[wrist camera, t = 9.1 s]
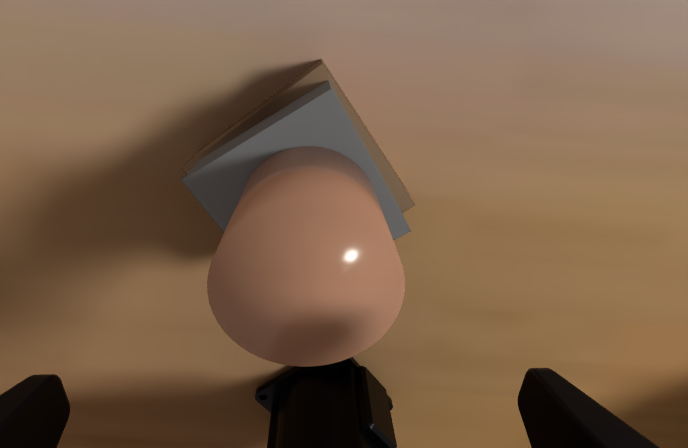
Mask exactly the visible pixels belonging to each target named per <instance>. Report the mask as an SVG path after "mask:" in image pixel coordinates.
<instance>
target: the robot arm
mask: <svg viewBox="0 0 688 448" xmlns="http://www.w3.org/2000/svg"><path fill="white" fill-rule="evenodd" d="M262 394H265V395H262ZM255 399H256V400H257V401H258V402H259V403H260V404H261V405H262V406H263V407H265V408H266V409H267V410H268V411H269V412H270V413H271V417H270V426H269V435H268V443H267V448H396V447H397V444H396V439H395V434H394V429H393V423H392V418H391V413H390V410H391V409H392V408H393V405H392V400H391V398H390V397H389V396H388V395H387V393H386V389H385V388H384V387H383V386H382V385H381V384H380V382H379V381H378V380H377V379H376V378H375V377H374V376H373V375H372V374H371V373H370V372H369V370H368V369H367V368H366V367H364V366H360V365H359V364H358V363H357V362H356V361H355V360H354V358H353V357H351V358H348V359H346V360H343V361H340V362H336V363H332V364H328V365H321V366H308V367H303V366H296V367H294V368H292V369H290V370H289V371H287V372H285V373H283V374H282V375H280V376H278V377H276V378H275V379H273V380H271V381H269V382H268V383H266V384H264V385H262V386H261V387H259V388H258V389H257V390H256V394H255ZM518 407H519V411H520V414H521V417H522V420H523V423H524V426H525V429H526V432H527V435H528V438H529V441H530V444H531V447H532V448H659V447H658V446H657V445H655V444H654V443H652V442H651V441H650V440H648V439H647V438H646V437H644V436H643V435H641V434H640V433H639V432H637V431H636V430H635V429H633V428H632V427H630V426H629V425H628V424H626V423H625V422H623V421H622V420H621V419H619V418H618V417H617V416H615V415H614V414H612V413H611V412H610V411H608V410H607V409H606V408H604V407H603V406H601V405H600V404H599V403H597V402H596V401H595V400H593V399H592V398H590V397H589V396H588V395H586V394H585V393H583V392H582V391H581V390H579V389H578V388H577V387H575V386H574V385H572V384H571V383H570V382H568V381H567V380H566V379H564V378H563V377H561V376H560V375H559V374H557V373H556V372H555V371H553V370H551V369H549V368H530V369H529V370H528V371H527V372H526V374H525V377H524V380H523V383H522V386H521V389H520V392H519V395H518ZM69 414H70V404H69V401H68V398H67V395H66V393H65V390H64V387H63V384H62V381H61V379H60V378H59V377H58V376H57V375H54V374H51V375H32V376H30V377H28V378H26V379H25V380H23V381H22V382H20V383H18V384H17V385H15V386H14V387H12V388H11V389H9V390H8V391H6V392H4V393H3V394H1V395H0V448H56V447H57V445H58V443H59V440H60V438H61V435H62V433H63V430H64V428H65V425H66V423H67V421H68V418H69Z"/></svg>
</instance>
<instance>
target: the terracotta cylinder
mask: <svg viewBox="0 0 688 448" xmlns="http://www.w3.org/2000/svg"><path fill="white" fill-rule="evenodd" d="M207 288H208V297H209V303H210V306H211V309H212V311H213V314H214V316H215V318H216V320H217V321H218V323H219V325H220V326H221V327H222V329H223V330H224V331H225V333H226V334H227V335H228V336H229V337H230V338H231V339H232V340H233V341H235V342H236V343H237V344H238V345H239V346H241V347H242V348H244V349H245V350H247V351H249V352H250V353H252V354H254V355H256V356H258V357H260V358H263V359H266V360H268V361H271V362H275V363H279V364H283V365H290V366H303V367H308V366H321V365H328V364H332V363H336V362H340V361H343V360H346V359H348V358H351V357H353V356H355V355H357V354H359V353H361V352H363V351H364V350H366V349H368V348H369V347H371V346H372V345H373V344H375V343H376V342H377V341H378V340H379V339H380V338H381V337H382V336H383V335H384V334H385V333H386V332H387V331H388V330H389V328H390V327H391V326H392V324H393V323H394V321H395V319H396V318H397V316H398V314H399V311H400V309H401V306H402V303H403V299H404V293H405V276H404V270H403V266H402V263H401V260H400V257H399V254H398V252H397V249H396V246H395V244H394V241H393V238H392V236H391V233H390V230H389V228H388V225H387V222H386V219H385V217H384V214H383V211H382V209H381V206H380V203H379V201H378V198H377V195H376V193H375V190H374V187H373V185H372V183H371V181H370V179H369V178H368V176H367V175H366V173H365V172H364V171H363V170H362V168H361V167H360V166H358V165H357V164H356V163H355V162H354V161H353V160H351V159H350V158H348V157H347V156H345V155H343V154H341V153H339V152H337V151H334V150H332V149H328V148H324V147H317V146H300V147H293V148H289V149H286V150H283V151H281V152H278V153H276V154H274V155H272V156H271V157H269V158H267V159H266V160H265V161H264V162H262V163H261V164H260V165H259V166H258V167H257V168H256V169H255V170H254V171H253V173H252V174H251V176H250V177H249V179H248V181H247V183H246V185H245V187H244V189H243V191H242V194H241V196H240V198H239V200H238V203H237V205H236V207H235V210H234V212H233V214H232V216H231V219H230V221H229V223H228V225H227V228H226V230H225V232H224V234H223V237H222V239H221V241H220V243H219V246H218V248H217V250H216V252H215V255H214V257H213V259H212V262H211V266H210V269H209V274H208V281H207Z"/></svg>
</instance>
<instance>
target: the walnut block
mask: <svg viewBox="0 0 688 448" xmlns="http://www.w3.org/2000/svg"><path fill="white" fill-rule="evenodd" d="M328 80H329V82H330V83H331V85H332V87H333V89H334V91H335V92H336V94H337V96H338V98H339V99H340V101H341V103H342V105H343V107H344V108H345V110H346V112H347V114H348V116H349V117H350V119H351V121H352V123H353V125H354V126H355V128H356V130H357V132H358V133H359V135H360V137H361V139H362V141H363V142H364V144H365V146H366V148H367V150H368V151H369V153H370V155H371V157H372V158H373V160H374V162H375V164H376V166H377V167H378V169H379V171H380V173H381V175H382V176H383V178H384V180H385V182H386V184H387V185H388V187H389V189H390V191H391V192H392V194H393V196H394V198H395V200H396V201H397V203H398V205H399V207H400V209H401V211H402V213H403V212H405V211H406V210H408V209H410V208H411V207H413V206H414V205H415V204H414V202H413V200H412V199H411V197H410V195H409V193H408V191H407V190H406V188H405V186H404V184H403V183H402V181H401V180H400V178H399V177H398V175H397V174H396V172H395V171H394V169H393V168H392V166H391V165H390V163H389V161H388V160H387V158H386V157H385V155H384V154H383V152H382V151H381V149H380V148H379V146H378V145H377V143H376V142H375V140H374V139H373V137H372V135H371V134H370V132H369V131H368V129H367V128H366V126H365V125H364V123H363V122H362V120H361V119H360V117H359V116H358V114H357V113H356V111H355V109H354V108H353V106H352V105H351V103H350V102H349V100H348V99H347V97H346V96H345V94H344V93H343V91H342V90H341V88H340V87H339V85H338V83H337V82H336V80H335V79H334V77H333V76H332V74H331V73H330V71H329V70H328V68H327V67H326V65H325V64H324V62H323V61H322V59H321V60H319V61H318V62H317V63H315V64H314V65H313V66H311V67H310V68H309V69H307V70H306V71H305V72H303V73H302V74H301V75H299V76H298V77H297V78H295V79H294V80H293V81H291V82H290V83H289V84H287V85H286V86H285V87H283V88H282V89H281V90H279V91H278V92H277V93H275V94H274V95H273V96H271V97H270V98H269V99H267V100H266V101H265V102H263V103H262V104H261V105H259V106H258V107H257V108H255V109H254V110H253V111H251V112H250V113H249V114H247V115H246V116H245V117H243V118H242V119H241V120H239V121H238V122H237V123H235V124H234V125H233V126H231V127H230V128H229V129H227V130H226V131H225V132H223V133H222V134H221V135H219V136H218V137H217V138H215V139H214V140H213V141H211V142H210V143H209V144H207V145H206V146H205V147H203V148H202V149H201V150H199V151H198V152H197V153H196V154H195V155H194V156H193V157H192V158H191V159H190V160H189V161H188V162H187V163H186V164H185V165H184V166H183V167H182V168H181V169H182V170H183V171H184V172H185V173H186V174H188V172H189V171H190V170H191V169H192V168H193V167H194V166H195V165H196V163H197V162H198V161H199V160H200V159H201V158H203V157H205V156H206V155H208V154H209V153H211V152H213V151H214V150H216V149H218V148H219V147H221V146H222V145H224V144H226V143H227V142H229V141H231V140H232V139H234V138H235V137H237V136H239V135H240V134H242V133H244V132H245V131H247V130H248V129H250V128H252V127H253V126H255V125H257V124H258V123H260V122H261V121H263V120H265V119H266V118H268V117H269V116H271V115H273V114H274V113H276V112H278V111H279V110H281V109H282V108H284V107H286V106H287V105H289V104H291V103H292V102H294V101H295V100H297V99H299V98H300V97H302V96H304V95H305V94H307V93H308V92H310V91H312V90H313V89H315V88H317V87H318V86H320V85H321V84H323V83H325V82H326V81H328Z"/></svg>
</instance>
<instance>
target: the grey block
mask: <svg viewBox="0 0 688 448" xmlns="http://www.w3.org/2000/svg"><path fill="white" fill-rule="evenodd" d="M300 146H317V147H324V148H328V149H332V150H334V151H337V152H339V153H341V154H343V155H345V156H347V157H348V158H350V159H351V160H353V161H354V162H355V163H356V164H357V165H358V166H360V167H361V168H362V170H363V171H364V172H365V173H366V175H367V176H368V178H369V179H370V181H371V183H372V185H373V187H374V190H375V193H376V195H377V198H378V201H379V203H380V206H381V209H382V211H383V214H384V217H385V219H386V222H387V225H388V228H389V230H390V233H391V236H392V238H393V240H395V239H397V238H399V237H401V236H403V235H404V234H406V233H408V232H410V228H409V226H408V224H407V222H406V220H405V218H404V216H403V213H402V211H401V209H400V207H399V205H398V203H397V201H396V200H395V198H394V196H393V194H392V192H391V191H390V189H389V187H388V185H387V184H386V182H385V180H384V178H383V176H382V175H381V173H380V171H379V169H378V167H377V166H376V164H375V162H374V160H373V158H372V157H371V155H370V153H369V151H368V150H367V148H366V146H365V144H364V142H363V141H362V139H361V137H360V135H359V133H358V132H357V130H356V128H355V126H354V125H353V123H352V121H351V119H350V117H349V116H348V114H347V112H346V110H345V108H344V107H343V105H342V103H341V101H340V99H339V98H338V96H337V94H336V92H335V91H334V89H333V87H332V85H331V83H330V82H329V80H328V81H326V82H325V83H323V84H321V85H320V86H318V87H317V88H315V89H313V90H312V91H310V92H308V93H307V94H305V95H304V96H302V97H300V98H299V99H297V100H295V101H294V102H292V103H291V104H289V105H287V106H286V107H284V108H282V109H281V110H279V111H278V112H276V113H274V114H273V115H271V116H269V117H268V118H266V119H265V120H263V121H261V122H260V123H258V124H257V125H255V126H253V127H252V128H250V129H248V130H247V131H245V132H244V133H242V134H240V135H239V136H237V137H235V138H234V139H232V140H231V141H229V142H227V143H226V144H224V145H222V146H221V147H219V148H218V149H216V150H214V151H213V152H211V153H209V154H208V155H206V156H205V157H203V158H201V159H200V160H199V161H198V162H197V163H196V165H195V166H194V167H193V168H192V169H191V170H190V171H189V172H188V174H187V175H186V176H185V177H184V178H183V179H182V180H181V181H182V182H183V183H184V184H185V185H186V187H187V188H188V189H189V190H190V192H191V193H192V194H193V195H194V197H195V198H196V199H197V200H198V201H199V203H200V204H201V205H202V206H203V208H204V209H205V210H206V211H207V212H208V214H209V215H210V216H211V217H212V219H213V220H214V221H215V222H216V223H217V225H218V226H219V227H220V228H221V230H222V231H223V232H225V230H226V228H227V225H228V223H229V221H230V219H231V216H232V214H233V212H234V210H235V207H236V205H237V203H238V200H239V198H240V196H241V194H242V191H243V189H244V187H245V185H246V183H247V181H248V179H249V177H250V176H251V174H252V173H253V171H254V170H255V169H256V168H257V167H258V166H259V165H260V164H261V163H262V162H264V161H265V160H266V159H267V158H269V157H271V156H272V155H274V154H276V153H278V152H281V151H283V150H286V149H289V148H293V147H300Z"/></svg>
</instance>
